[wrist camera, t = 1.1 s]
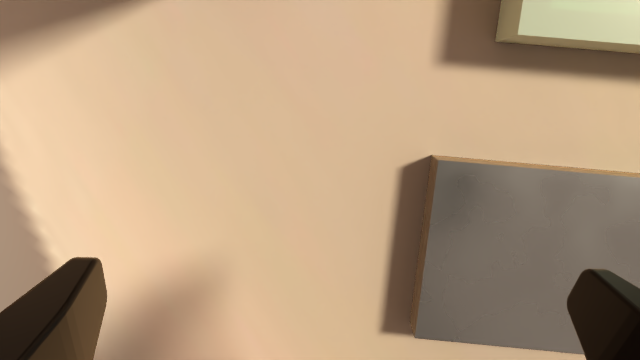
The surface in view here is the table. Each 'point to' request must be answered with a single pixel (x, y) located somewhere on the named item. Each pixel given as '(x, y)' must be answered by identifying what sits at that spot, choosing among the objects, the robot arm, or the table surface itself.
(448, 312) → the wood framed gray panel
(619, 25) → the tray
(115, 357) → the table surface
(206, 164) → the table surface
